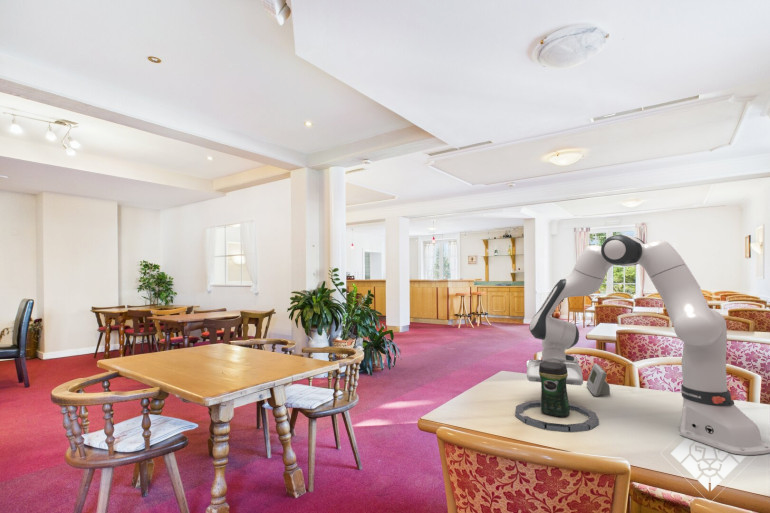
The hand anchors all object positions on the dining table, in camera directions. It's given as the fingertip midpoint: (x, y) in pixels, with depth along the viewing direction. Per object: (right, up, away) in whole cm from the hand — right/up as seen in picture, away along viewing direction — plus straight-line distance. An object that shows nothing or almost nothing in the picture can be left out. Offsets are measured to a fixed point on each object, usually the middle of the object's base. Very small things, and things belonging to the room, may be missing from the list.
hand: (554, 392), depth 151 cm
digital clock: (+27, -7, +20) cm, 34 cm away
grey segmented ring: (-3, -6, -8) cm, 11 cm away
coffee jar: (-2, -6, -4) cm, 8 cm away
